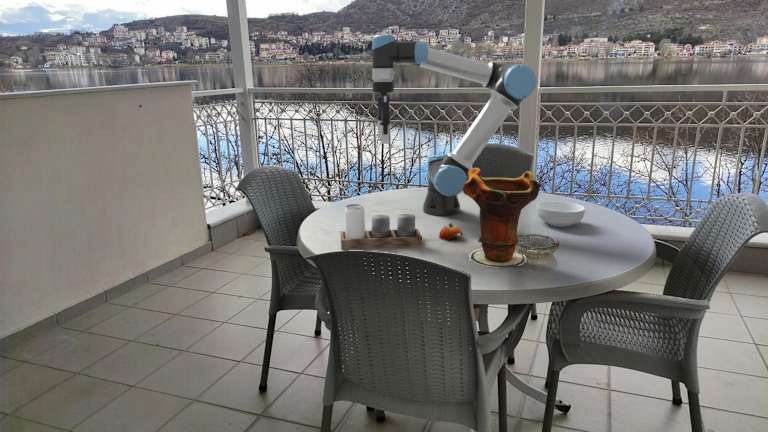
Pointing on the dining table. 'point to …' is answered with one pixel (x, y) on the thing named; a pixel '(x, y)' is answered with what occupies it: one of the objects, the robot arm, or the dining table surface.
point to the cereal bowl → (560, 213)
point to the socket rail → (381, 241)
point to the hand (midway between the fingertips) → (383, 140)
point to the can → (355, 221)
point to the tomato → (449, 232)
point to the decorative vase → (499, 215)
